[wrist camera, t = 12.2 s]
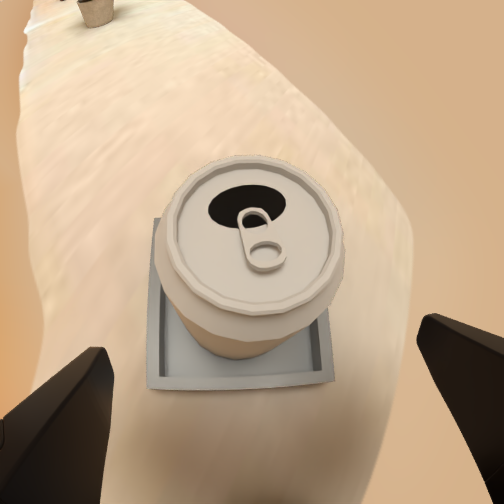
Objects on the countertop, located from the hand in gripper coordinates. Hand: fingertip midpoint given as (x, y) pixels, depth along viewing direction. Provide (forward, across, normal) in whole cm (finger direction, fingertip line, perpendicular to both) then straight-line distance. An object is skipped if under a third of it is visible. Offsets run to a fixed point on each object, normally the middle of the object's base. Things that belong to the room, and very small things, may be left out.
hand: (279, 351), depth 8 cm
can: (+12, 0, +6) cm, 14 cm away
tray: (+13, 0, +6) cm, 14 cm away
